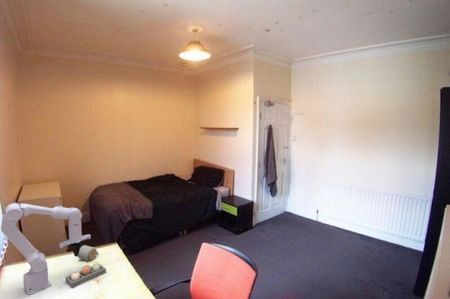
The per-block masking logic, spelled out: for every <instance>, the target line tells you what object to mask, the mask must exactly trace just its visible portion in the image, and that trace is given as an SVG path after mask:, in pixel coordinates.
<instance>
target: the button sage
mask: <svg viewBox="0 0 450 299" xmlns="http://www.w3.org/2000/svg"><path fill="white" fill-rule="evenodd" d="M100 265H101V264H100V263H95V264H93V265H92V266H93V272H95V271H97V270H100Z"/></svg>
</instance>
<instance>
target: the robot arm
mask: <svg viewBox="0 0 450 299" xmlns="http://www.w3.org/2000/svg"><path fill="white" fill-rule="evenodd" d="M31 214H35V215H46V216H47V215H48V216H50V217H52V218H53V219H59V220H60V219H61V220H68V238H69V239H66V240H64V241H63V242H60V243H59V248H60V249H63V248H64V247H67V246H70V248H71V250H72V252H73V256H74V257H75V258H77V257H78V255H79V251H80V248H81V247H82V246H83V244H84V243H83V241H85V240H90V239H91V234H85V235H84V234H83V233H82V218H83V214H82V212H81V211H80V209H79V208H76V207H71V206H70V207H64V206H62V205H59V206H54V207H52V208H51V207H47V206H40V205H33V204H30V203H25V202H24V203H22V202H21V203H18V202H12V203H10V204H8V205H7V206H5V209H4V210H3V212H2V218H1V226H0V231H1V232H2V233H3V235H4V236H5V237H6V238H7V239H8V240H9V241H10V242H11V243H12V245H13V246H14V247H15V248H16V249H17V250H18V251H19V252H20V254H22V255H23V257H24V258H25V259H26V261H27V263H28V265H29V266H30V269H29V271H27V272H26V273H24V274H23V276H22V277H23V278H22V279H23V290H24V291H25V293H26V294H27V295H31V294H34V293H36V292H39V291H41V290H43V289H46V288H49V287H50V286H52V283H51V281H49V273H48V272H49V271H48V270H49V269H48V268H49V267H48V262H47V258H46V255H45V253H44V252H41V251H39V250H38V249H36V248H35V247H34V246H33V244H32V243H31V242H30V241H29V240H28V239H27V238H26V237H25V235H24V234H23V232H21V230H19V228H18V226H17V223H18V221H20V220H21V219H22V217H24V218H25V217H27V216H29V215H31ZM52 218H51V219H52ZM82 234H83V235H82Z"/></svg>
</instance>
